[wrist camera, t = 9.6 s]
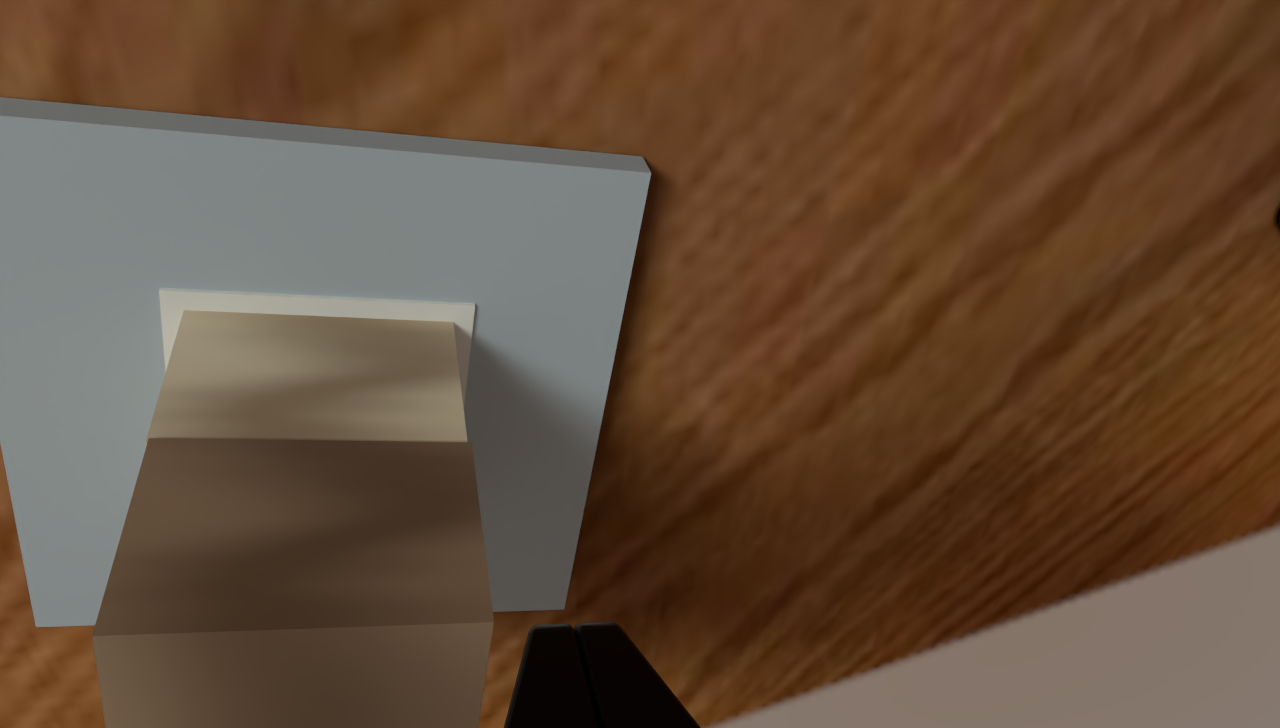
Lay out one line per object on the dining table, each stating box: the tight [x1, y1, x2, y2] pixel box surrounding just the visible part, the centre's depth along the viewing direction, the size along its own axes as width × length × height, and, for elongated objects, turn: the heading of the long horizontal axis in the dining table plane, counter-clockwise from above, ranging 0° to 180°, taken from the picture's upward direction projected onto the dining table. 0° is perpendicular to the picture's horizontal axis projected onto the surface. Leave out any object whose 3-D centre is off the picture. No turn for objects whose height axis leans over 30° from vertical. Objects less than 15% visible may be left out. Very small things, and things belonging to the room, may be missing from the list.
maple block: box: [145, 310, 468, 446], centre depth 20 cm, size 5×5×4 cm
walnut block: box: [92, 438, 494, 728], centre depth 16 cm, size 5×5×4 cm
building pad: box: [0, 97, 651, 627], centre depth 22 cm, size 12×12×1 cm
